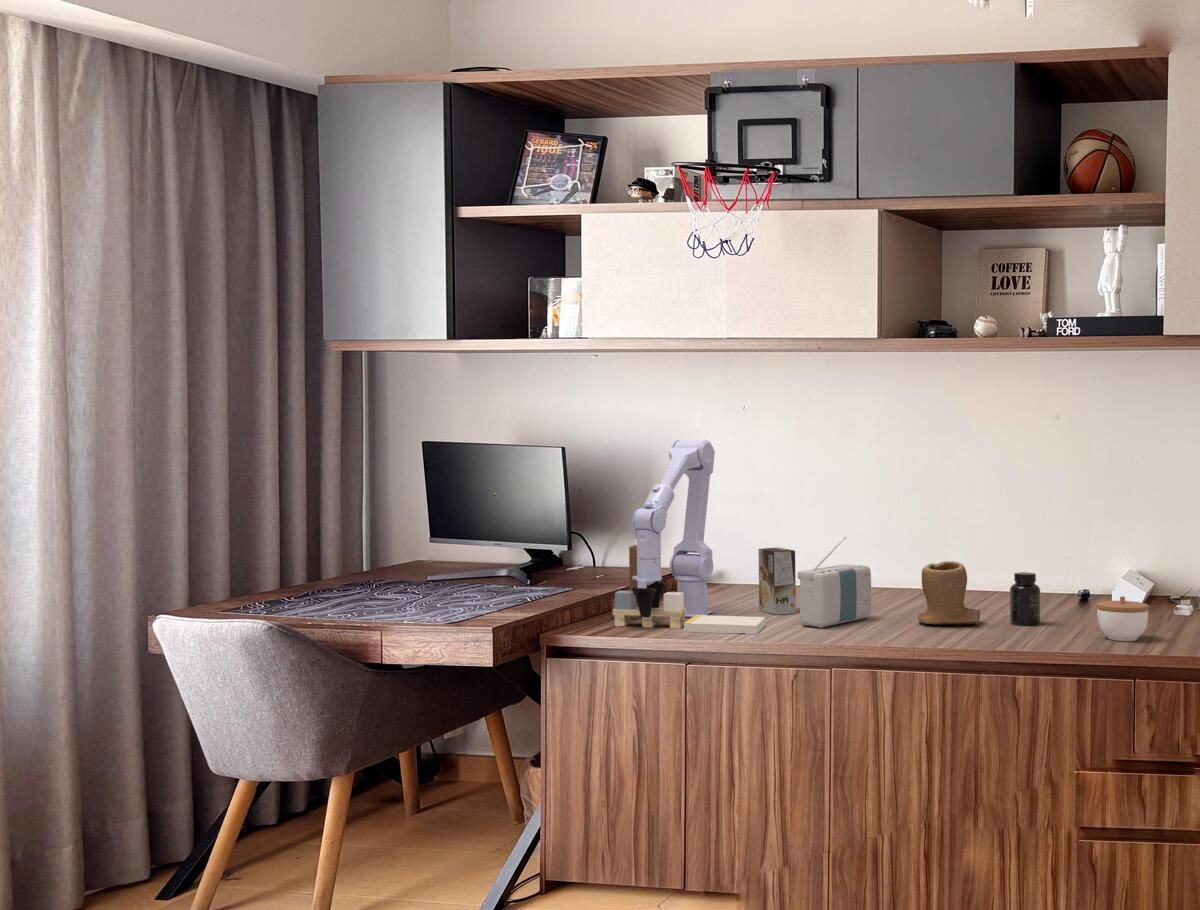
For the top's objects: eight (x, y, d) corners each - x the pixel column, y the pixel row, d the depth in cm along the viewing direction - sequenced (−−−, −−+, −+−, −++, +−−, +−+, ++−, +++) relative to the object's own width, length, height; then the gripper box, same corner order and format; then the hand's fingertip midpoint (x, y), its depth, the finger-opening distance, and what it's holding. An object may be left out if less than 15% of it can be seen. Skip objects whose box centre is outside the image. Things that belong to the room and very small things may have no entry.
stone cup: (921, 628, 311) (921, 564, 310) (914, 621, 323) (914, 559, 322) (988, 629, 309) (987, 564, 309) (978, 621, 321) (978, 559, 321)
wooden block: (612, 617, 333) (611, 546, 332) (617, 615, 337) (617, 544, 337) (646, 619, 330) (645, 546, 330) (652, 616, 334) (651, 545, 334)
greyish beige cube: (667, 608, 321) (667, 591, 321) (683, 609, 320) (683, 592, 320) (663, 610, 317) (663, 594, 317) (680, 611, 316) (680, 594, 316)
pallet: (618, 623, 325) (618, 606, 325) (686, 625, 320) (686, 608, 320) (612, 626, 320) (612, 609, 320) (682, 628, 315) (681, 611, 315)
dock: (695, 623, 323) (695, 614, 323) (765, 625, 318) (765, 616, 318) (684, 631, 311) (683, 622, 310) (756, 634, 306) (756, 625, 306)
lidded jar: (1149, 636, 297) (1149, 594, 297) (1148, 644, 287) (1148, 600, 287) (1097, 633, 301) (1097, 592, 301) (1095, 641, 291) (1095, 598, 291)
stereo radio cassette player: (824, 630, 311) (823, 544, 311) (795, 626, 317) (794, 542, 316) (873, 619, 326) (872, 537, 326) (844, 616, 332) (844, 536, 331)
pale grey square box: (619, 607, 324) (619, 590, 324) (635, 607, 323) (635, 591, 323) (615, 609, 320) (614, 592, 320) (631, 609, 319) (631, 593, 319)
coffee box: (797, 613, 336) (796, 550, 336) (774, 615, 334) (774, 551, 334) (779, 608, 345) (779, 547, 344) (757, 610, 343) (757, 548, 342)
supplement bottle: (1038, 622, 319) (1038, 572, 318) (1041, 626, 312) (1041, 575, 312) (1008, 621, 320) (1008, 571, 320) (1011, 625, 314) (1011, 575, 313)
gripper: (640, 554, 328) (640, 609, 328) (624, 561, 314) (625, 618, 314) (668, 555, 326) (668, 610, 326) (654, 561, 312) (654, 619, 312)
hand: (649, 614), depth 320 cm, fingers open, 7 cm apart
